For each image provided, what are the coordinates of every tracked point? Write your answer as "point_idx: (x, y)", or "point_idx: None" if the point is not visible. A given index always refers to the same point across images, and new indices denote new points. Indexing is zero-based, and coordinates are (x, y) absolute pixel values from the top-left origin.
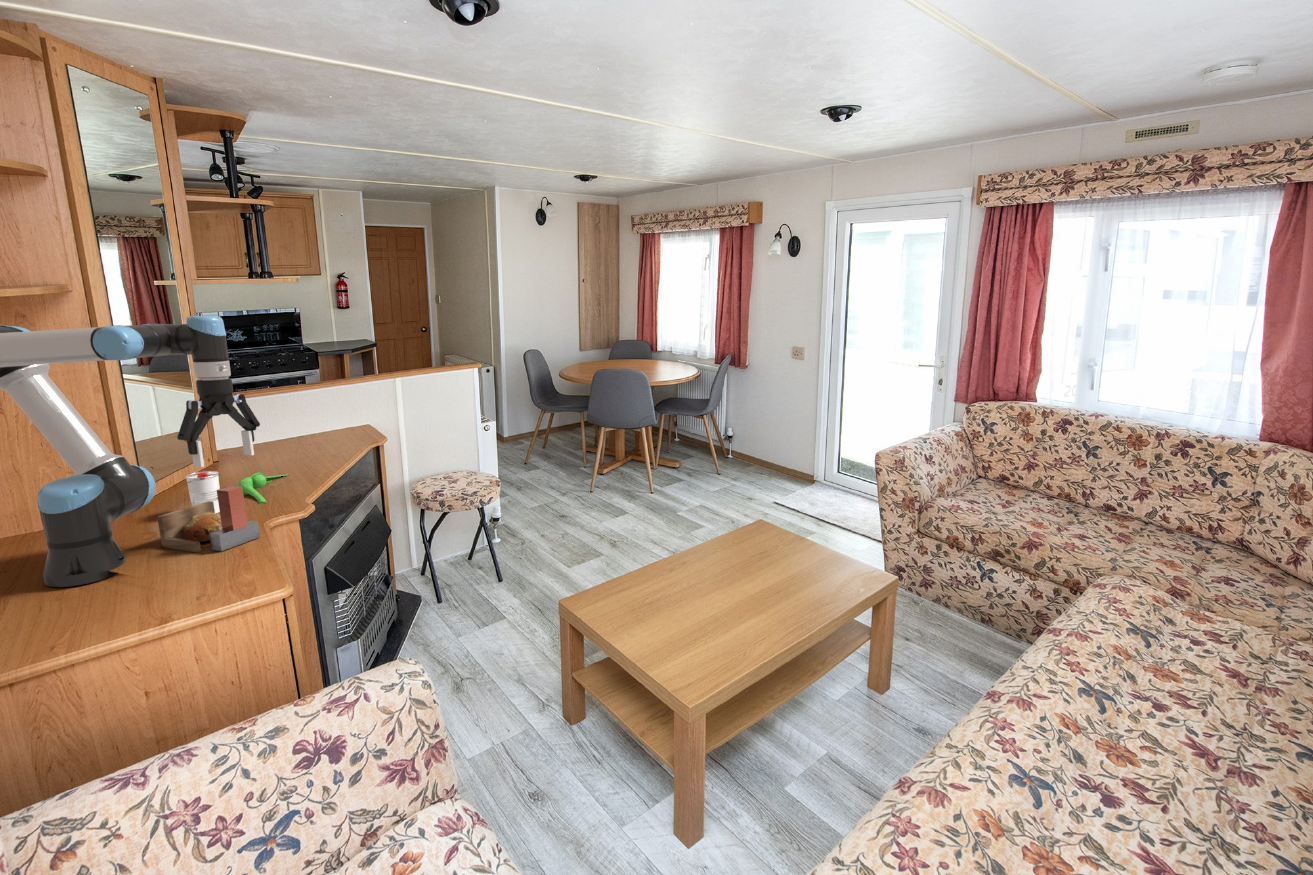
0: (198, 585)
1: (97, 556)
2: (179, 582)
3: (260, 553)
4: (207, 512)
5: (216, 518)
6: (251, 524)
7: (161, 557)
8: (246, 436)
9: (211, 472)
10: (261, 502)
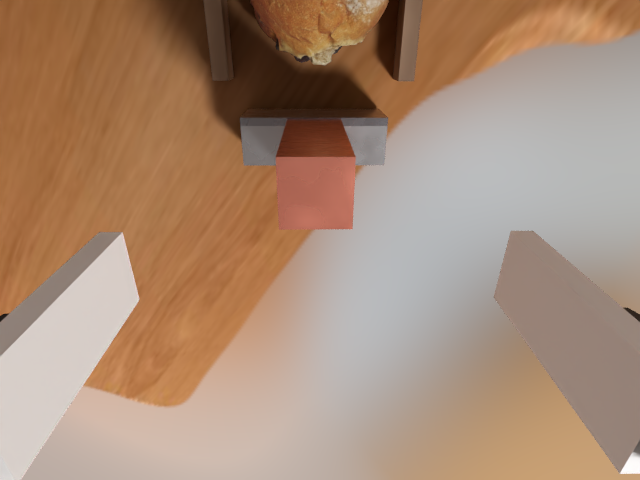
0: None
1: None
2: (88, 234)
3: (284, 250)
4: None
5: (336, 19)
6: (358, 164)
7: (143, 3)
8: (593, 388)
9: None
10: None
